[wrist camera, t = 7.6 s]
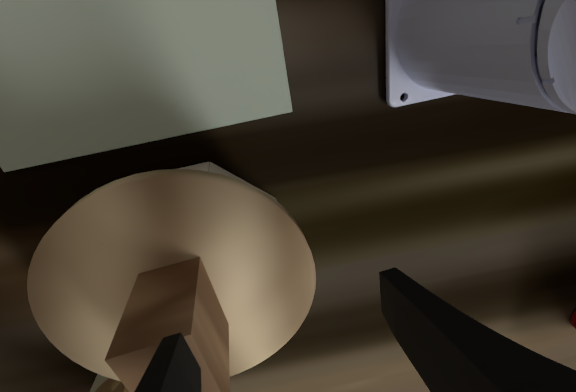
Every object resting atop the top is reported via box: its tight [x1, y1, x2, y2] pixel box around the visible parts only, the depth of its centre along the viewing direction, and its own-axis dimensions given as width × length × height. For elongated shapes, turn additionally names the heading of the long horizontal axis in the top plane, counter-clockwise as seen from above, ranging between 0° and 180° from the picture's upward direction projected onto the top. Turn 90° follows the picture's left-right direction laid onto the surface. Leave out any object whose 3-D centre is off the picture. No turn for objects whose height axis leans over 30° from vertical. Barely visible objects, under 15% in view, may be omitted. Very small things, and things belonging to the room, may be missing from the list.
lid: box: [27, 169, 316, 392], centre depth 14 cm, size 14×14×6 cm
